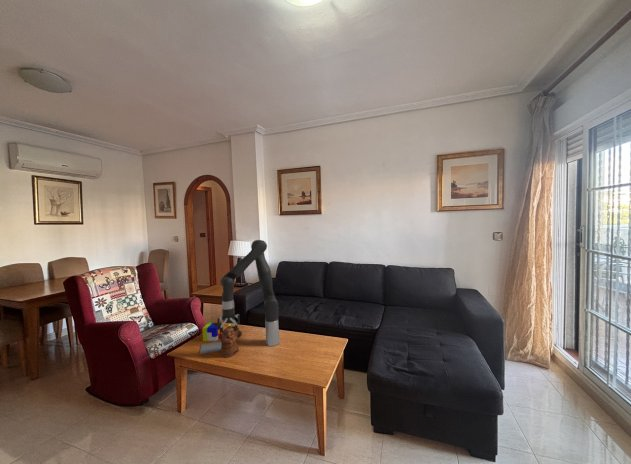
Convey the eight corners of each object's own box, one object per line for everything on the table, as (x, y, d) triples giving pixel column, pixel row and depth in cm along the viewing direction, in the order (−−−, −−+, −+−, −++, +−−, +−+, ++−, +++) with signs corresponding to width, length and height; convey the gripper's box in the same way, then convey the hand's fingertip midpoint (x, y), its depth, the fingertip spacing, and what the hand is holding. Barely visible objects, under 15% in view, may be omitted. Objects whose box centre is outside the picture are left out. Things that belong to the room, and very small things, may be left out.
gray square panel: (222, 342, 185) (222, 341, 184) (222, 350, 172) (222, 349, 172) (201, 346, 180) (201, 344, 180) (199, 355, 168) (199, 353, 168)
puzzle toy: (216, 341, 187) (215, 328, 187) (202, 341, 187) (202, 328, 187) (221, 335, 197) (221, 322, 197) (208, 335, 197) (208, 322, 197)
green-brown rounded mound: (219, 334, 200) (218, 321, 199) (240, 330, 206) (239, 318, 206) (220, 343, 184) (220, 330, 183) (243, 338, 190) (243, 326, 190)
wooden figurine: (227, 359, 162) (226, 331, 161) (220, 356, 164) (219, 329, 164) (240, 350, 172) (239, 324, 171) (233, 348, 175) (232, 322, 174)
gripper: (239, 303, 173) (240, 327, 173) (216, 306, 168) (217, 331, 168) (239, 307, 166) (240, 331, 166) (216, 310, 161) (217, 335, 161)
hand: (229, 331), depth 167 cm, fingers closed on wooden figurine, 7 cm apart
